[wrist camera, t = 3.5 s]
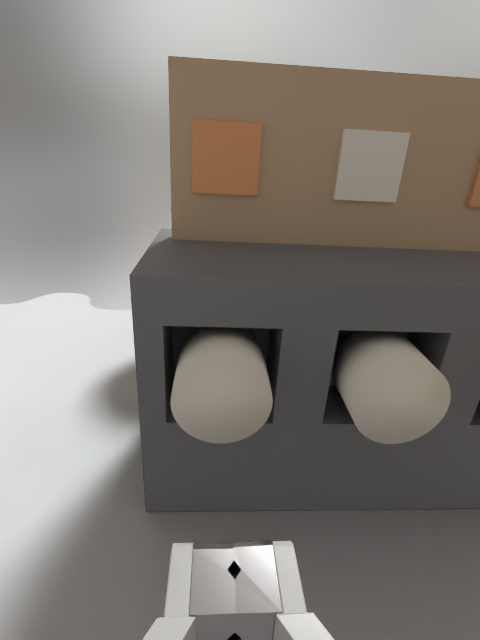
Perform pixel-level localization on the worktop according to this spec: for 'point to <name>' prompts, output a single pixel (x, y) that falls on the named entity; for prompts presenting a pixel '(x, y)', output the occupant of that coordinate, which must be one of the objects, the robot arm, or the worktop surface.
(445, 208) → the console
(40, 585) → the worktop surface
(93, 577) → the worktop surface
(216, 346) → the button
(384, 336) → the middle button
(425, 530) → the worktop surface
